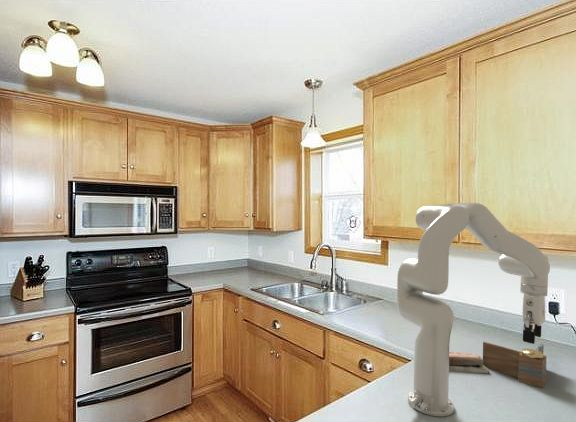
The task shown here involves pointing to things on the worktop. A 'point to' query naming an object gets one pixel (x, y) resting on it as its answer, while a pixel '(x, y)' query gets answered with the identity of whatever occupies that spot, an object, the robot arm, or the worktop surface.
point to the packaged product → (466, 363)
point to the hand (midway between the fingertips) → (532, 339)
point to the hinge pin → (532, 353)
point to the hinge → (516, 363)
